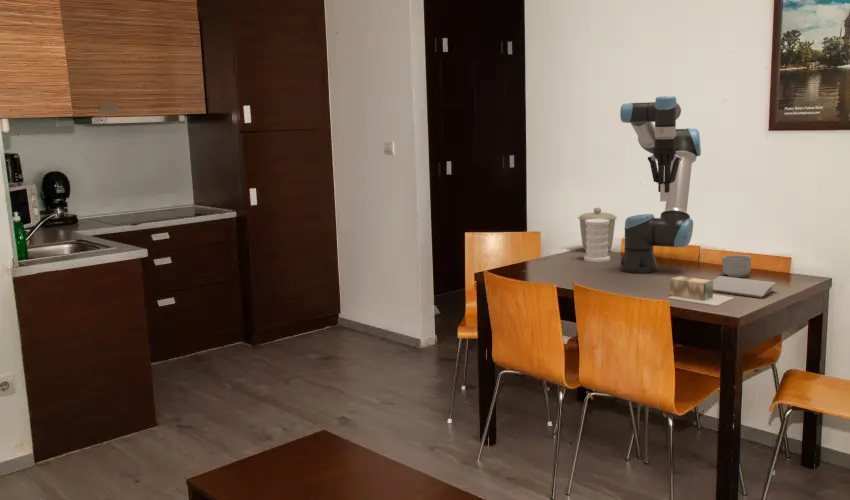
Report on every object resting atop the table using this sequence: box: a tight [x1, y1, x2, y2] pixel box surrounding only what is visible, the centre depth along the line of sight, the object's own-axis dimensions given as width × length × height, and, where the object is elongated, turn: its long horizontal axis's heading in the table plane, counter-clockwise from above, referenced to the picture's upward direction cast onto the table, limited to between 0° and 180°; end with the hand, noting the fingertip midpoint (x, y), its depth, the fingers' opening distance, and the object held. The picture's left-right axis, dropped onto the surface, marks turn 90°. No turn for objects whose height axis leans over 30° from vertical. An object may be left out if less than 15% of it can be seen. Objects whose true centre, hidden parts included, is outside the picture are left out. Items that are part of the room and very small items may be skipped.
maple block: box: [669, 275, 714, 300], centre depth 267 cm, size 6×6×13 cm
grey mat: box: [667, 293, 735, 307], centre depth 265 cm, size 18×14×1 cm
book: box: [712, 275, 777, 298], centre depth 274 cm, size 15×23×4 cm, turn 47°
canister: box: [578, 206, 618, 251], centre depth 360 cm, size 18×18×21 cm
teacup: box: [721, 254, 752, 278], centre depth 298 cm, size 14×11×8 cm
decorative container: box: [583, 219, 611, 263], centre depth 339 cm, size 12×12×18 cm
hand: (663, 200), depth 284 cm, fingers closed
